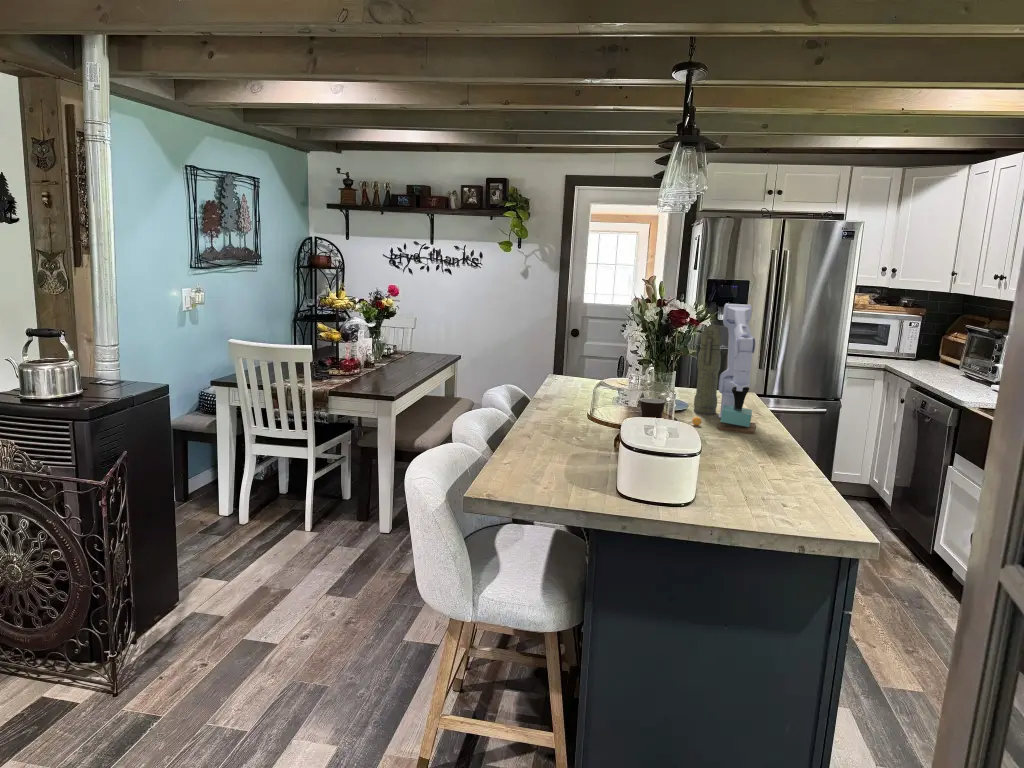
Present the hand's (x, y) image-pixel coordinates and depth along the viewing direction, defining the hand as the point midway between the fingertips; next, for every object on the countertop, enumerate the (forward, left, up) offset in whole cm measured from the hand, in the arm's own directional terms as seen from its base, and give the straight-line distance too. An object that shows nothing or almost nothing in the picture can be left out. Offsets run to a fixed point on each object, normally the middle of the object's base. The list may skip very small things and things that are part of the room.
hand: (738, 407), depth 247 cm
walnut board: (-1, 0, -8) cm, 8 cm away
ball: (+3, -14, -8) cm, 16 cm away
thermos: (-23, -14, -8) cm, 28 cm away
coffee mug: (+14, -28, -8) cm, 32 cm away
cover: (0, -1, -5) cm, 5 cm away
